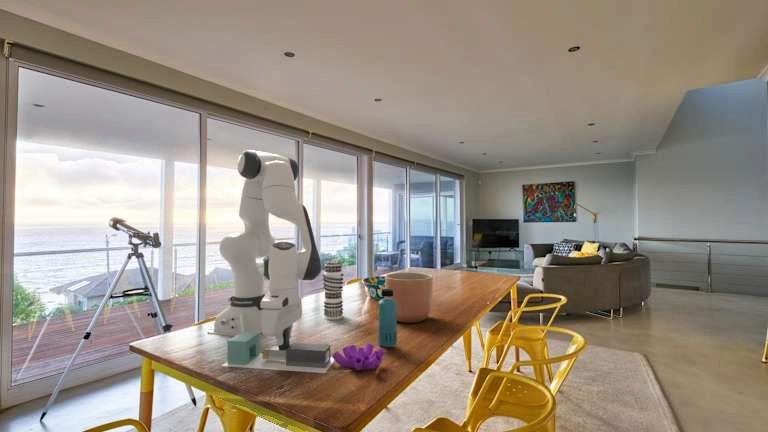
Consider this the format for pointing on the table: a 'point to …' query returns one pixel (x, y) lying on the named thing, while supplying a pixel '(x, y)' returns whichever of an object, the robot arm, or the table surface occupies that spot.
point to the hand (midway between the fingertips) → (284, 341)
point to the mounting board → (279, 365)
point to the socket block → (243, 348)
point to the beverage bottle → (387, 319)
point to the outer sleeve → (307, 355)
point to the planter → (411, 295)
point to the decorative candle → (333, 290)
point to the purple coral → (359, 357)
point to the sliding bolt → (281, 349)
